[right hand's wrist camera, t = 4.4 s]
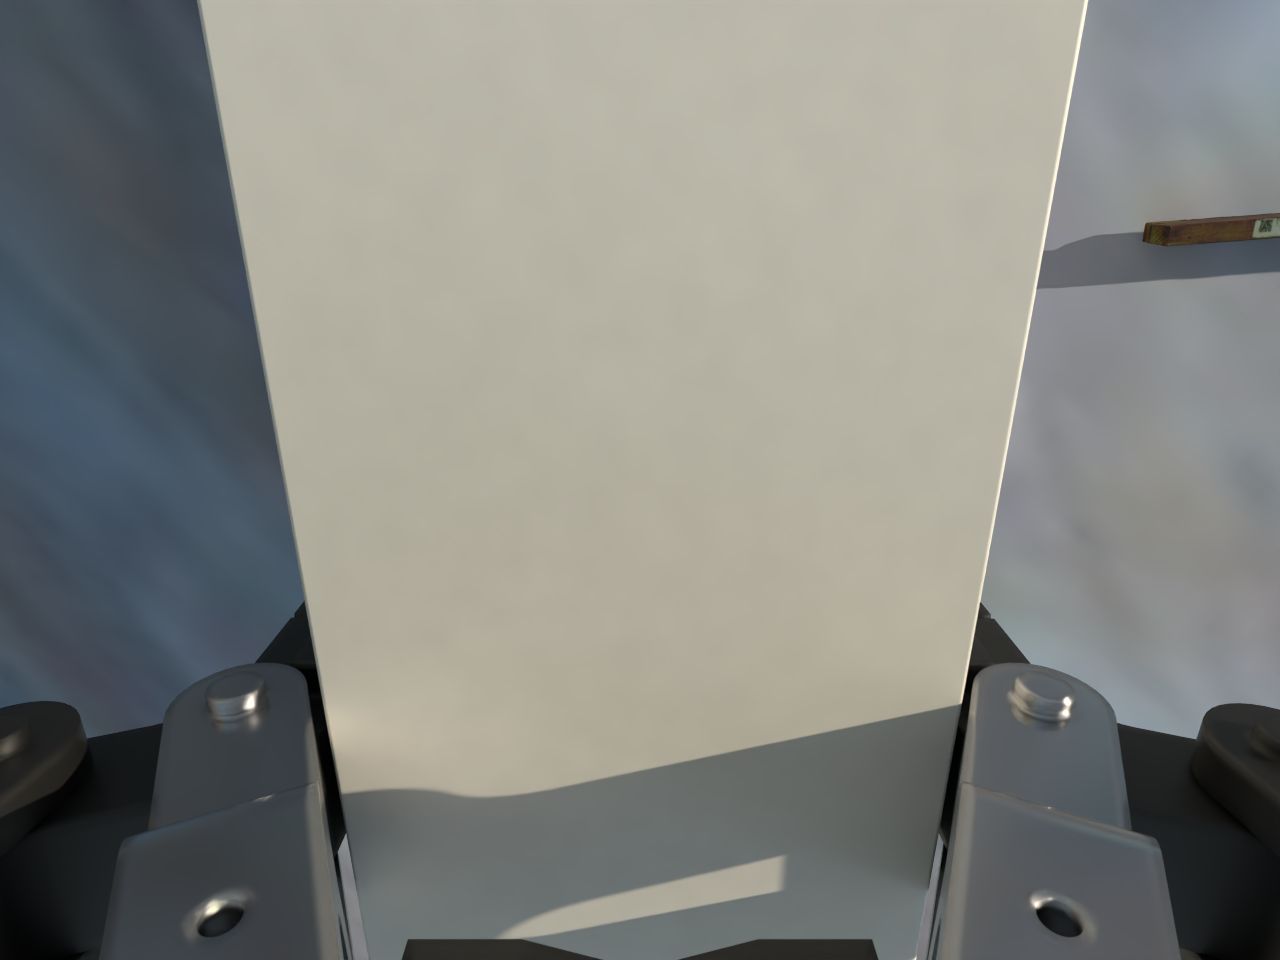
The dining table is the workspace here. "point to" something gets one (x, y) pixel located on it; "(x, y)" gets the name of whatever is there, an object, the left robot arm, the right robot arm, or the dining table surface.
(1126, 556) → the dining table surface
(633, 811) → the box
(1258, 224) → the brown thin rod
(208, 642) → the dining table surface
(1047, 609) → the dining table surface
